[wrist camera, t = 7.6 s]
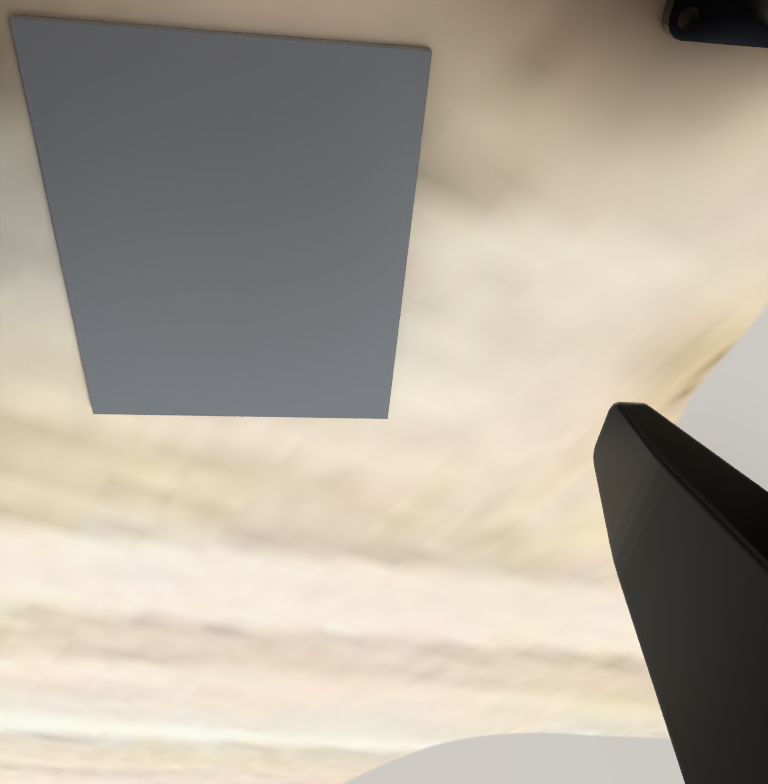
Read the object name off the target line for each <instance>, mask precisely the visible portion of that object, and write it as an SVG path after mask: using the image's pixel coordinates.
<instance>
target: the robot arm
mask: <svg viewBox="0 0 768 784" xmlns="http://www.w3.org/2000/svg"><path fill="white" fill-rule="evenodd" d="M689 7H691V9H692V16H691V18H690V20H689V22H688V23H686V24H685V25H684V26H679V24H678V19H679V16H680V14H681V12H682V11H684V10H685V9H686V8H689ZM662 24H663V28H664V30H665V32H666V33H667V34H668V35H670V36H671V37H673V38H675V39H678V40H681V41H691V42H703V43H715V44H727V45H739V46H750V47H762V48H768V0H667V2H666V6H665V9H664V12H663V18H662ZM593 459H594V467H595V472H596V477H597V482H598V488H599V493H600V498H601V503H602V508H603V513H604V518H605V523H606V528H607V533H608V538H609V543H610V548H611V552H612V556H613V561H614V564H615V568H616V571H617V575H618V578H619V581H620V584H621V587H622V590H623V593H624V597H625V600H626V603H627V606H628V609H629V612H630V615H631V618H632V621H633V624H634V627H635V631H636V634H637V637H638V640H639V643H640V646H641V649H642V652H643V655H644V658H645V661H646V665H647V668H648V671H649V674H650V677H651V680H652V683H653V686H654V689H655V692H656V695H657V699H658V702H659V705H660V708H661V711H662V714H663V717H664V720H665V723H666V726H667V729H668V733H669V736H670V739H671V742H672V745H673V748H674V751H675V754H676V757H677V760H678V763H679V766H680V770H681V773H682V776H683V779H684V782H685V784H768V492H767V491H766V490H764V489H763V488H762V487H760V486H759V485H758V484H756V483H755V482H753V481H752V480H751V479H749V478H748V477H746V476H745V475H744V474H742V473H741V472H740V471H738V470H737V469H735V468H734V467H732V466H731V465H730V464H729V463H727V462H726V461H724V460H723V459H722V458H720V457H719V456H717V455H716V454H715V453H713V452H712V451H711V450H709V449H708V448H706V447H705V446H704V445H702V444H701V443H700V442H698V441H697V440H695V439H694V438H693V437H691V436H690V435H688V434H687V433H686V432H684V431H683V430H681V429H680V428H679V427H677V426H676V425H675V424H673V423H672V422H671V421H669V420H668V419H666V418H665V417H664V416H662V415H661V414H660V413H658V412H657V411H655V410H654V409H653V408H651V407H650V406H648V405H647V404H644V403H635V402H617V403H615V404H613V405H612V406H611V408H610V410H609V411H608V414H607V417H606V419H605V422H604V424H603V427H602V429H601V432H600V435H599V437H598V440H597V442H596V445H595V448H594V456H593Z"/></svg>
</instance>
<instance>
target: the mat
mask: <svg viewBox="0 0 768 784" xmlns="http://www.w3.org/2000/svg"><path fill="white" fill-rule="evenodd" d="M9 20H10V25H11V29H12V34H13V39H14V43H15V48H16V53H17V58H18V62H19V67H20V72H21V76H22V81H23V86H24V91H25V95H26V100H27V105H28V109H29V114H30V119H31V123H32V128H33V133H34V138H35V142H36V147H37V152H38V156H39V161H40V166H41V171H42V175H43V180H44V185H45V189H46V194H47V199H48V203H49V208H50V213H51V218H52V222H53V227H54V232H55V236H56V241H57V246H58V251H59V255H60V260H61V265H62V269H63V274H64V279H65V284H66V288H67V293H68V298H69V302H70V307H71V312H72V316H73V321H74V326H75V331H76V335H77V340H78V345H79V349H80V354H81V359H82V364H83V368H84V373H85V378H86V382H87V387H88V392H89V396H90V401H91V406H92V411H93V414H131V415H191V416H251V417H311V418H371V419H388V411H389V402H390V394H391V386H392V378H393V369H394V361H395V353H396V344H397V336H398V328H399V320H400V311H401V303H402V295H403V286H404V278H405V270H406V262H407V253H408V245H409V237H410V228H411V220H412V212H413V204H414V195H415V187H416V179H417V170H418V162H419V154H420V146H421V137H422V129H423V121H424V112H425V104H426V96H427V88H428V79H429V71H430V63H431V54H432V51H431V49H430V48H424V47H412V46H399V45H387V44H374V43H362V42H349V41H337V40H324V39H312V38H299V37H287V36H274V35H262V34H249V33H237V32H224V31H212V30H199V29H187V28H174V27H162V26H149V25H137V24H124V23H112V22H99V21H87V20H74V19H62V18H49V17H37V16H24V15H14V16H12V17H10V18H9Z"/></svg>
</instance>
